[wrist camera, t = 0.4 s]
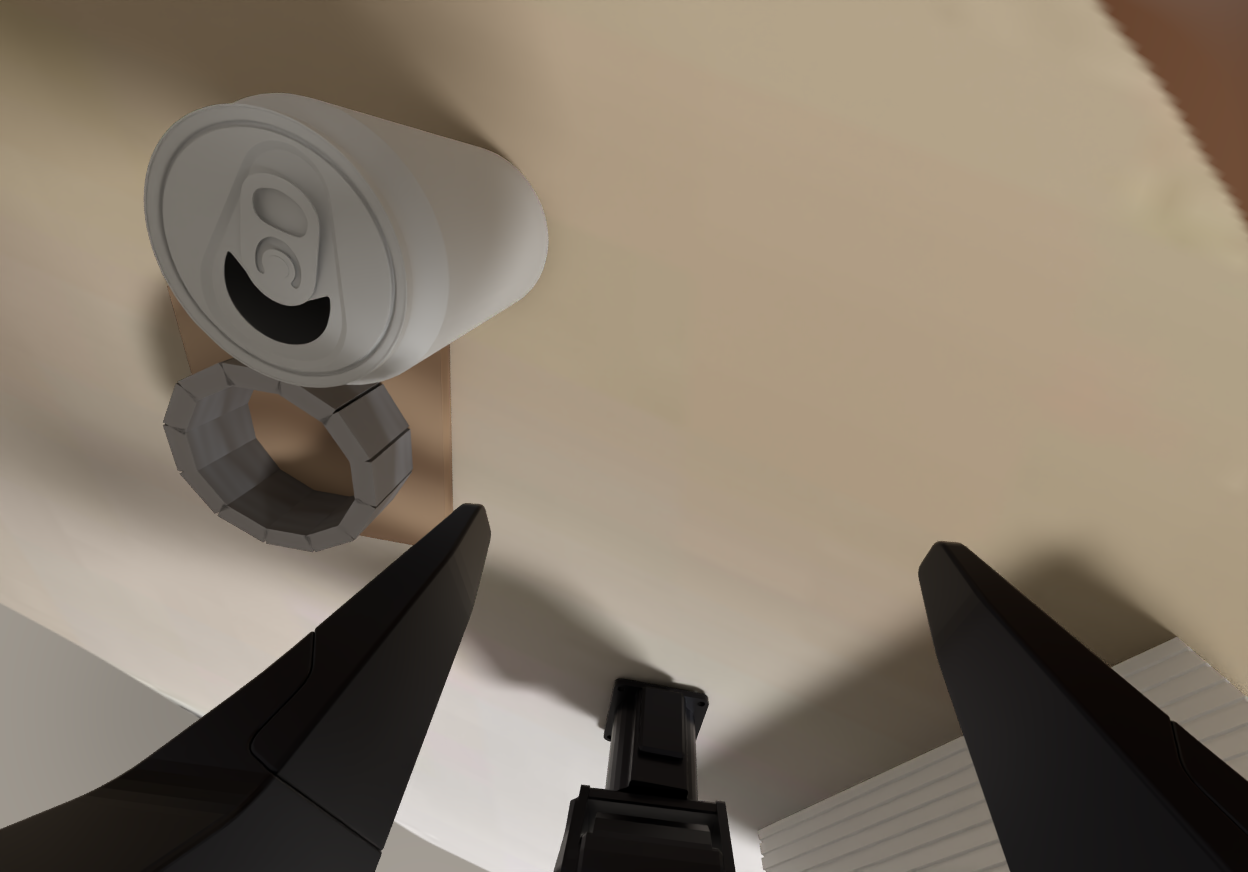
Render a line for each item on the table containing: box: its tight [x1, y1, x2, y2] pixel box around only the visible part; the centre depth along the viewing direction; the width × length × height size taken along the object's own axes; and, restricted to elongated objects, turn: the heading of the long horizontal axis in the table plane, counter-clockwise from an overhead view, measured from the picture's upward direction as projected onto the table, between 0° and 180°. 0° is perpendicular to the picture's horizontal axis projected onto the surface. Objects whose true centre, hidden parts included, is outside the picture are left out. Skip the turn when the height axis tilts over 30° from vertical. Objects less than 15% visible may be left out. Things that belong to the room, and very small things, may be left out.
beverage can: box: [144, 93, 548, 388], centre depth 15 cm, size 6×6×12 cm
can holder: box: [163, 285, 453, 552], centre depth 24 cm, size 13×13×4 cm
